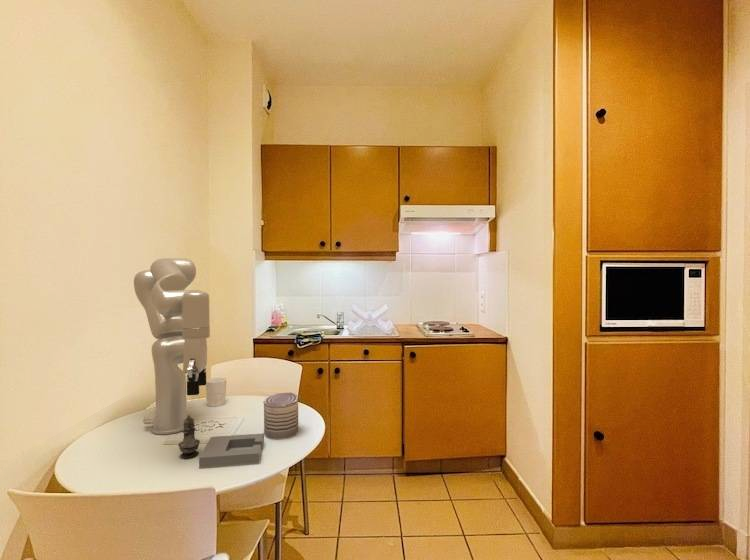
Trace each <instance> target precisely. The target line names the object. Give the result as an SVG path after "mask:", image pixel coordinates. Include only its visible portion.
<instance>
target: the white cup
mask: <svg viewBox="0 0 750 560" xmlns="http://www.w3.org/2000/svg"><path fill="white" fill-rule="evenodd" d="M205 392H206V393H205V394H206V401H207V406H208V407H209V408H210V407H215V408H216V407H221V406H223V405H225V404H226V396H227V395H226V394H227V378H225V377H222V376H220V377H219V376H218V377H211V378H208V379H207V378H206V385H205Z"/></svg>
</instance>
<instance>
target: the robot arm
mask: <svg viewBox="0 0 750 560" xmlns="http://www.w3.org/2000/svg"><path fill="white" fill-rule="evenodd" d="M149 268H150V269H147V270H142V271H139V272H137V273H136V274H135V276H134V277H133V288H134V292H135V295H136V297H137V299H138V301H139V303H140V304H141V306H142V307H143V309H144V310H145V313H146V319H147V322H148V326H149V330H150V333H151V335H152V336H153V338H154V339H156V340H155V341H154V342H153V344H152V345H151V356H152V362H153V367H154V378H155V379H154V382H155V383H154V384H155V414H154V415H152V416H144V417H143V419H142V422H143V424H144V425H150V426H151V427H150V432H151V433H152V434H154V435H155V434H156V435H171V434H175V433H176V434H177V433H180V432H182V431H183V430H184V420H185V419H187V418H188V416H187V396H196V395H197V396H199V394H200V387H201V386H202V387H203V386H206V380H207V369H206V367H207V364H208V343H207V341H208V340H207V339H208V338H210V337H211V334H210V333H211V332H210V331H211V329H210V295H209V293H208V292H206V291H202V290H200V289H187V287H189V286H190V285H191V284H192V283H193V282H194V280H195V278H196V275H197V267H196V264H195V263H194V261H192V260H190V259H188V258H170V257H169V258H168V257H167V258H165V257H163V258H158V259H156V260H154V261H153V262H152V263H151V265H150V267H149ZM180 364H182V369H181V368H180V367H179V366H178V365H180Z"/></svg>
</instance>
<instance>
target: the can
mask: <svg viewBox="0 0 750 560" xmlns="http://www.w3.org/2000/svg"><path fill="white" fill-rule="evenodd" d="M299 396H300V395H298V394H295V393H293V392H278V393H274V394H272V395H269V396H266V397H265V398H264V400H263V402H262V403H263V424H264V425H263V433H264V437H266V439H270V440H275V441H277V440H278V441H279V440H281V441H282V440H288V439H290V438H292V437H295V436H297V434H298V432H299Z"/></svg>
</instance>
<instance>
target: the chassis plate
mask: <svg viewBox="0 0 750 560" xmlns="http://www.w3.org/2000/svg"><path fill="white" fill-rule="evenodd" d="M264 445H265V435H264V432H263V433H249V434H235V435H219V436H210V438H209V440H208V441H207V443H206V445H205V446H204V448H203V450H202V452H201V454H200V455H199V457H198V464H199V466H198V467H199V469H207V468H208V469H209V468H223V467H224V468H225V467H234V466H247V465H249V466H250V465H259V464H260V461H261V457H262V453H263V449H264Z"/></svg>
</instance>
